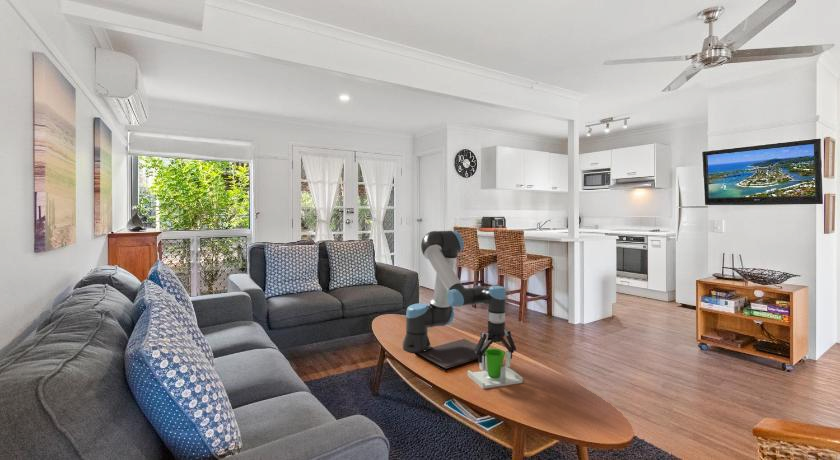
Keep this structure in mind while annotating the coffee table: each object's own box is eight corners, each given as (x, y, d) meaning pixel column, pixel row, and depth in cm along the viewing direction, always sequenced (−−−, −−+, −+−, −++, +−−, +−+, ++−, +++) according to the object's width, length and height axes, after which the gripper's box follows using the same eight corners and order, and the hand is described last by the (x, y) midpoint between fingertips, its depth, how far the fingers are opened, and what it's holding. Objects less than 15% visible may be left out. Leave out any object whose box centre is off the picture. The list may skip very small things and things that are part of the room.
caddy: (466, 375, 185) (467, 357, 185) (504, 369, 192) (505, 352, 192) (483, 389, 171) (484, 370, 170) (523, 383, 178) (524, 365, 177)
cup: (504, 381, 176) (505, 356, 176) (483, 379, 178) (484, 354, 177) (504, 373, 185) (505, 349, 184) (484, 371, 187) (485, 347, 186)
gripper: (475, 325, 172) (474, 374, 173) (525, 321, 181) (523, 367, 182) (467, 321, 179) (466, 367, 180) (515, 316, 188) (514, 361, 189)
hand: (494, 367), depth 181 cm, fingers open, 13 cm apart
